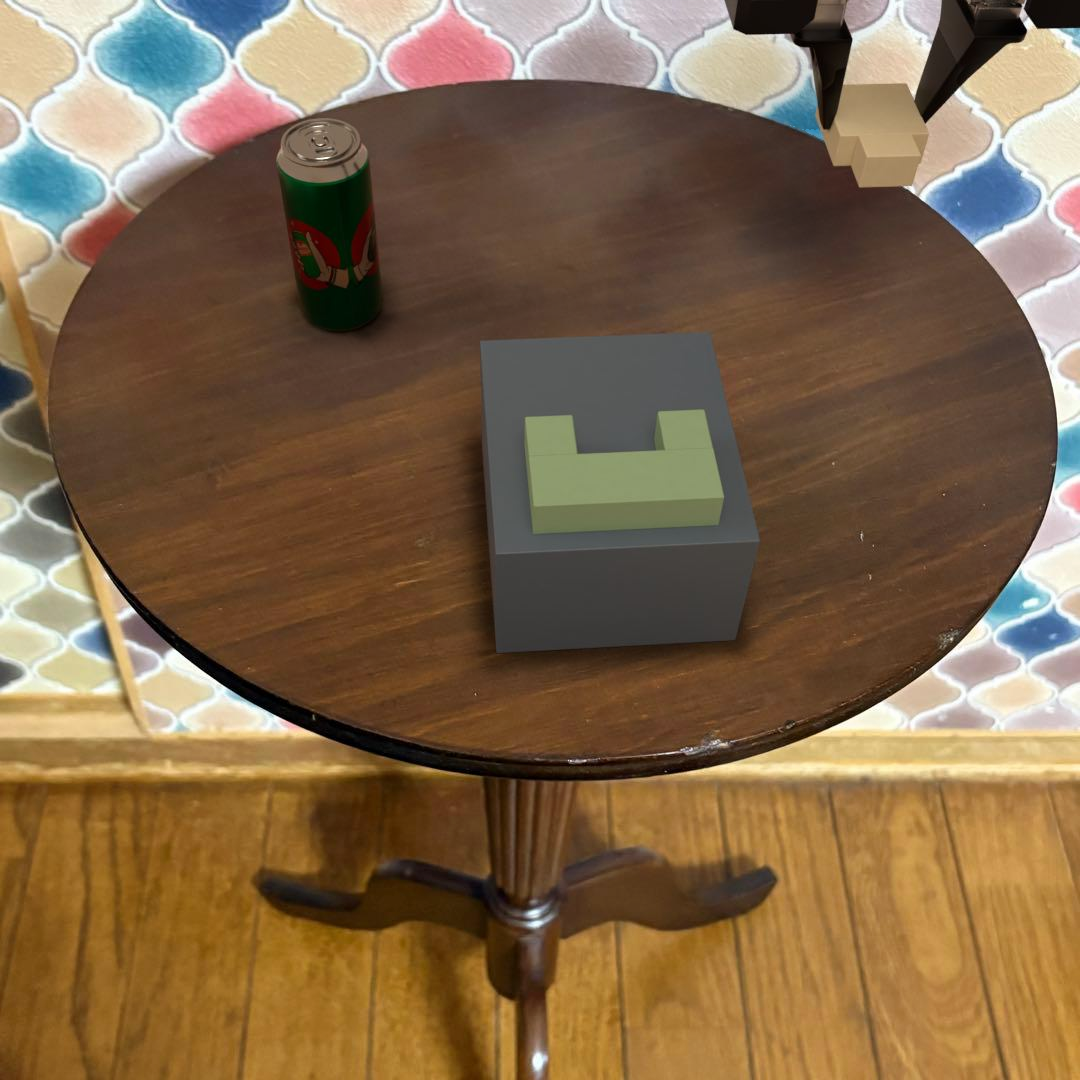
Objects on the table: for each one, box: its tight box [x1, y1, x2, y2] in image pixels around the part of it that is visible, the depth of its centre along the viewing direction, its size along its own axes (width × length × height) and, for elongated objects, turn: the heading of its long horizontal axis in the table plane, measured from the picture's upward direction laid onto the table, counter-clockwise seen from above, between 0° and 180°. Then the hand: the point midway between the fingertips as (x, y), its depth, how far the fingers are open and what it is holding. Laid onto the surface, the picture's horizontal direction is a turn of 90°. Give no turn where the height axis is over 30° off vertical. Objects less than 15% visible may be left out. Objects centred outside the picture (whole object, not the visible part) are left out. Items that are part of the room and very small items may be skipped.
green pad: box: [524, 410, 724, 534], centre depth 59 cm, size 8×6×2 cm, turn 95°
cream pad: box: [814, 82, 930, 188], centre depth 72 cm, size 5×7×2 cm
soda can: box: [275, 117, 384, 333], centre depth 74 cm, size 5×5×12 cm
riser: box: [479, 331, 761, 654], centre depth 65 cm, size 12×14×8 cm
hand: (871, 124), depth 72 cm, fingers closed on cream pad, 5 cm apart
